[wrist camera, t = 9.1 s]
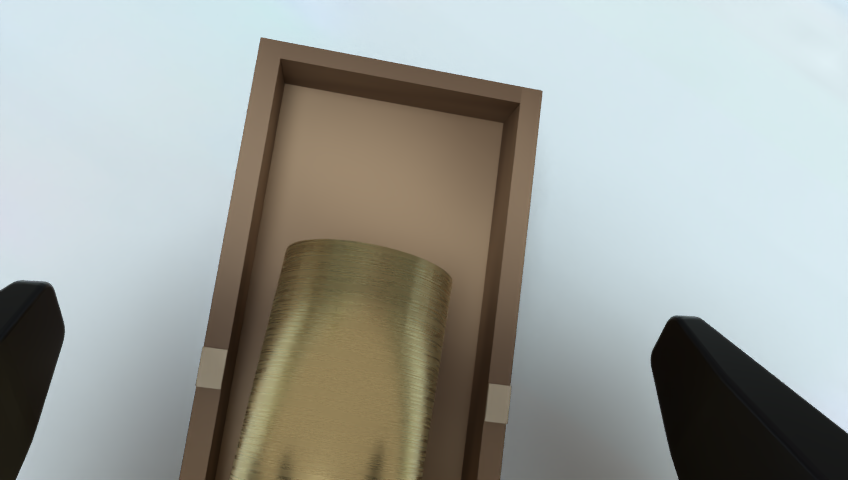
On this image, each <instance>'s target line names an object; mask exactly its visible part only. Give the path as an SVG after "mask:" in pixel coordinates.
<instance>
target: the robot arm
mask: <svg viewBox="0 0 848 480" xmlns="http://www.w3.org/2000/svg"><path fill="white" fill-rule="evenodd" d="M64 335H65V326H64V321H63V318H62V314H61V311H60V307H59V304H58V301H57V297H56V294H55V290H54V288H53V286H52V285H51V284H50V283H48V282H43V281H25V280H21V281H16V282H13V283H11V284H10V285H8V286H6V287H5V288H3V289H2V290H0V480H16V478H17V475H18V473H19V471H20V469H21V466H22V464H23V462H24V460H25V457H26V455H27V452H28V450H29V448H30V445H31V443H32V440H33V437H34V434H35V431H36V428H37V425H38V422H39V419H40V416H41V412H42V409H43V406H44V403H45V399H46V396H47V393H48V390H49V386H50V383H51V380H52V377H53V373H54V370H55V367H56V364H57V360H58V357H59V354H60V351H61V347H62V344H63V340H64ZM651 368H652V372H653V377H654V382H655V386H656V391H657V395H658V400H659V405H660V409H661V414H662V418H663V423H664V428H665V432H666V437H667V441H668V445H669V449H670V453H671V457H672V460H673V463H674V466H675V470H676V473H677V476H678V479H679V480H848V433H846V432H845V431H844V430H843V429H841V428H840V427H839V426H838V425H836V424H835V423H834V422H832V421H831V420H830V419H829V418H827V417H826V416H825V415H823V414H822V413H821V412H820V411H818V410H817V409H816V408H815V407H813V406H812V405H811V404H809V403H808V402H807V401H806V400H804V399H803V398H802V397H801V396H799V395H798V394H797V393H795V392H794V391H793V390H792V389H790V388H789V387H788V386H787V385H785V384H784V383H783V382H781V381H780V380H779V379H778V378H776V377H775V376H774V375H772V374H771V373H770V372H769V371H767V370H766V369H765V368H764V367H762V366H761V365H760V364H758V363H757V362H756V361H755V360H753V359H752V358H751V357H750V356H748V355H747V354H746V353H744V352H743V351H742V350H741V349H739V348H738V347H737V346H735V345H734V344H733V343H732V342H730V341H729V340H728V339H727V338H725V337H724V336H723V335H721V334H720V333H719V332H718V331H716V330H715V329H714V328H713V327H711V326H710V325H709V324H707V323H706V322H705V321H704V320H702V319H701V318H698V317H695V316H673V317H671V318H670V319H669V320H668V321H667V323H666V325H665V327H664V329H663V331H662V333H661V335H660V337H659V339H658V341H657V342H656V344H655V346H654V348H653V351H652V354H651Z"/></svg>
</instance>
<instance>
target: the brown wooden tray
mask: <svg viewBox="0 0 848 480" xmlns="http://www.w3.org/2000/svg"><path fill="white" fill-rule="evenodd" d="M542 92H543V91H541V90H535V89H530V88H525V87H520V86H514V85H509V84H504V83H499V82H493V81H488V80H483V79H477V78H472V77H467V76H462V75H456V74H451V73H446V72H441V71H435V70H430V69H425V68H419V67H414V66H409V65H404V64H398V63H393V62H388V61H383V60H377V59H372V58H367V57H361V56H356V55H351V54H346V53H340V52H335V51H330V50H325V49H319V48H314V47H309V46H303V45H298V44H293V43H288V42H282V41H277V40H272V39H267V38H261V39H260V44H259V50H258V55H257V61H256V66H255V71H254V77H253V82H252V88H251V93H250V98H249V104H248V109H247V115H246V120H245V126H244V131H243V136H242V142H241V147H240V153H239V158H238V163H237V169H236V174H235V180H234V185H233V190H232V196H231V201H230V207H229V212H228V218H227V223H226V228H225V234H224V239H223V245H222V250H221V255H220V261H219V266H218V272H217V277H216V282H215V288H214V293H213V299H212V304H211V309H210V315H209V320H208V326H207V331H206V337H205V342H204V347H203V348H202V353H201V359H200V364H199V369H198V375H197V380H196V391H195V396H194V401H193V407H192V412H191V418H190V423H189V429H188V434H187V439H186V445H185V450H184V456H183V461H182V466H181V472H180V477H179V480H229V478H230V474H231V470H232V466H233V462H234V458H235V454H236V450H237V446H238V442H239V438H240V434H241V430H242V426H243V422H244V418H245V414H246V410H247V406H248V402H249V398H250V394H251V390H252V386H253V381H254V377H255V373H256V369H257V365H258V361H259V357H260V353H261V349H262V345H263V341H264V337H265V333H266V329H267V325H268V321H269V317H270V313H271V309H272V305H273V301H274V297H275V293H276V289H277V285H278V281H279V277H280V273H281V269H282V265H283V261H284V256H285V252H286V249H287V247H288V246H289V245H291V244H293V243H295V242H298V241H303V240H311V239H337V240H348V241H356V242H363V243H368V244H374V245H379V246H383V247H387V248H391V249H395V250H399V251H402V252H406V253H409V254H412V255H414V256H417V257H420V258H422V259H425V260H427V261H429V262H431V263H433V264H435V265H437V266H439V267H440V268H442V269H443V270H445V271H446V272H447V273H448V274H449V275H450V276H451V278H452V281H453V283H452V290H451V296H450V302H449V309H448V315H447V322H446V328H445V334H444V341H443V347H442V353H441V360H440V366H439V373H438V379H437V385H436V392H435V398H434V405H433V411H432V417H431V424H430V430H429V437H428V443H427V449H426V456H425V462H424V469H423V475H422V480H500V475H501V466H502V456H503V447H504V438H505V429H506V424H507V423H508V414H509V405H510V395H511V386H510V383H511V374H512V365H513V356H514V347H515V338H516V329H517V320H518V310H519V301H520V292H521V283H522V274H523V265H524V256H525V247H526V237H527V228H528V219H529V210H530V201H531V192H532V183H533V174H534V165H535V155H536V146H537V137H538V128H539V119H540V110H541V101H542Z"/></svg>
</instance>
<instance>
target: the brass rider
mask: <svg viewBox="0 0 848 480" xmlns="http://www.w3.org/2000/svg"><path fill="white" fill-rule="evenodd" d="M452 283H453V281H452V278H451V276H450V275H449V274H448V273H447V272H446V271H445V270H443V269H442V268H440V267H439V266H437V265H435V264H433V263H431V262H429V261H427V260H425V259H422V258H420V257H417V256H414V255H412V254H409V253H406V252H402V251H399V250H395V249H391V248H387V247H383V246H379V245H374V244H368V243H363V242H356V241H348V240H337V239H311V240H303V241H298V242H295V243H293V244H291V245H289V246H288V247H287V249H286V252H285V256H284V261H283V265H282V269H281V273H280V277H279V281H278V285H277V289H276V293H275V297H274V301H273V305H272V309H271V313H270V317H269V321H268V325H267V329H266V333H265V337H264V341H263V345H262V349H261V353H260V357H259V361H258V365H257V369H256V373H255V377H254V381H253V386H252V390H251V394H250V398H249V402H248V406H247V410H246V414H245V418H244V422H243V426H242V430H241V434H240V438H239V442H238V446H237V450H236V454H235V458H234V462H233V466H232V470H231V474H230V478H229V480H422V475H423V469H424V462H425V456H426V449H427V443H428V437H429V430H430V424H431V417H432V411H433V405H434V398H435V392H436V385H437V379H438V373H439V366H440V360H441V353H442V347H443V341H444V334H445V328H446V322H447V315H448V309H449V302H450V296H451V290H452Z"/></svg>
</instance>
